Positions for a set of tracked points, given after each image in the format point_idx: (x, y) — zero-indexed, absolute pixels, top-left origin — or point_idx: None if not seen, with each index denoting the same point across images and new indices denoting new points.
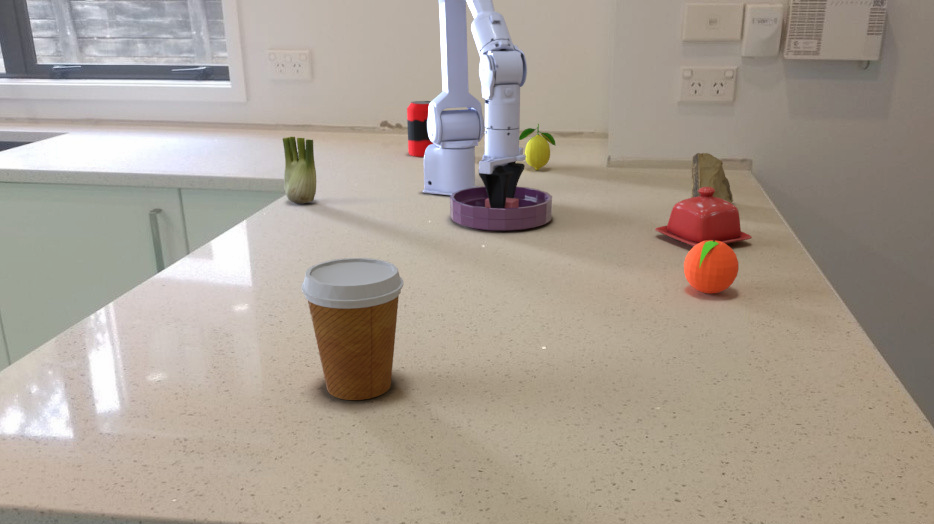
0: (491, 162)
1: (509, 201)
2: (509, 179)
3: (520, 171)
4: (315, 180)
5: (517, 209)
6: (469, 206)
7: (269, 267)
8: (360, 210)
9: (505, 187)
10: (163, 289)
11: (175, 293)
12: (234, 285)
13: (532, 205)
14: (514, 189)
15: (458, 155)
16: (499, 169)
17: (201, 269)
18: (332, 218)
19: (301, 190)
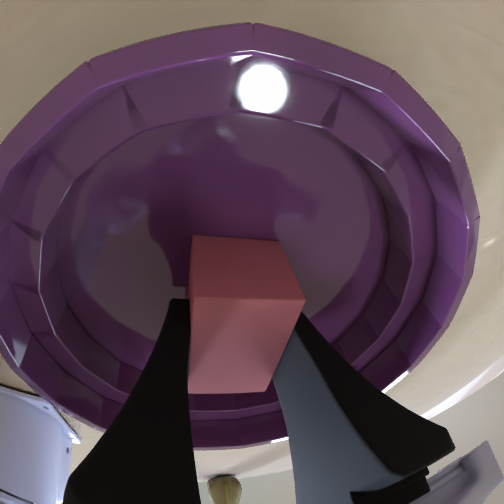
0: (498, 482)
1: (278, 319)
2: (381, 432)
3: (160, 488)
4: (226, 499)
5: (475, 231)
6: (406, 374)
7: (462, 384)
8: (236, 456)
9: (377, 392)
10: (475, 388)
11: (484, 380)
12: (487, 370)
13: (58, 215)
14: (175, 367)
15: (36, 490)
16: (402, 494)
17: (448, 404)
18: (290, 452)
19: (239, 490)
